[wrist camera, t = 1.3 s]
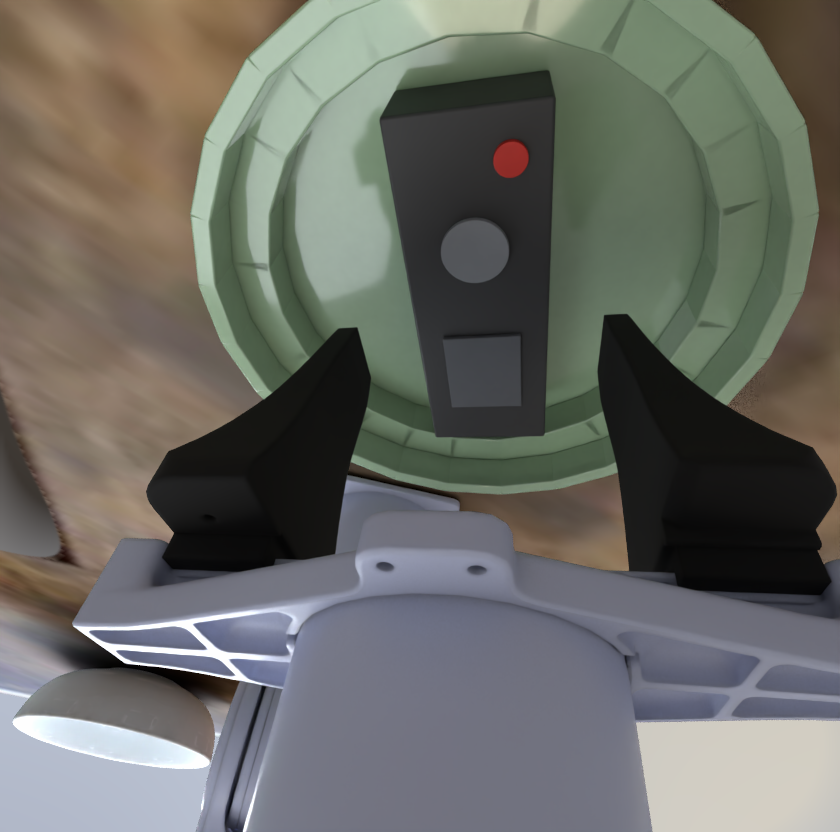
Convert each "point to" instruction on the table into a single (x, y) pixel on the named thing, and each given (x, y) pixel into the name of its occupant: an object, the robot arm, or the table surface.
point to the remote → (477, 244)
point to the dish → (571, 210)
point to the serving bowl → (121, 718)
